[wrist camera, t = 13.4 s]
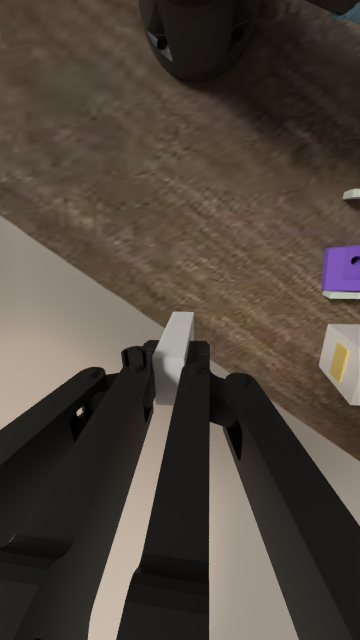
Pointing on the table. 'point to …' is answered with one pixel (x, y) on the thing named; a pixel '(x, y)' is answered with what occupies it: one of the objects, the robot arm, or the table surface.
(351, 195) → the corral
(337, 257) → the bracket
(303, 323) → the table surface
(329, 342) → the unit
